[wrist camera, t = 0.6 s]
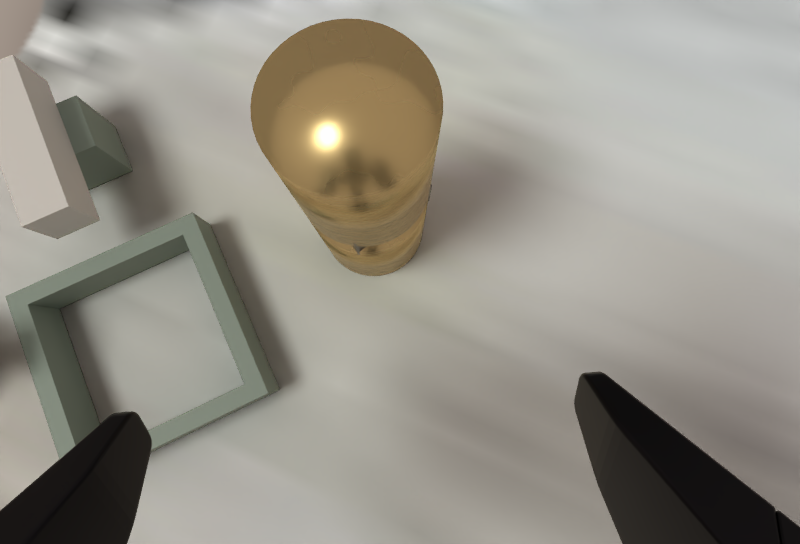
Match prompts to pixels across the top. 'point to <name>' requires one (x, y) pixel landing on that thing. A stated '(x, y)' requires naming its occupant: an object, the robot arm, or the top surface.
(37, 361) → the shaft bench
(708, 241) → the top surface
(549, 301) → the top surface
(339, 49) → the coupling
